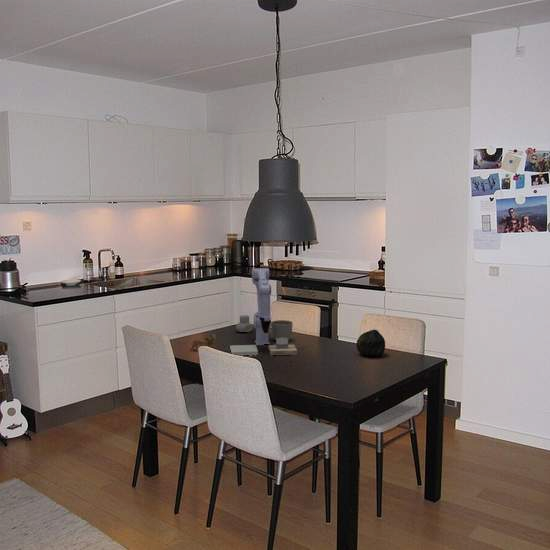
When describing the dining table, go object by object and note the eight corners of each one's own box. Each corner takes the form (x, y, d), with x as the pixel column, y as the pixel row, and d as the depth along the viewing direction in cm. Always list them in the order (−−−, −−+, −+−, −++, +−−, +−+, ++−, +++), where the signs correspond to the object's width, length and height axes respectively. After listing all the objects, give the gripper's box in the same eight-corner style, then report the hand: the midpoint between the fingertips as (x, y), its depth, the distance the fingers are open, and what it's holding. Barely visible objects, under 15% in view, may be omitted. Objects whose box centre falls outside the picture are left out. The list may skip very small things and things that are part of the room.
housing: (276, 346, 329) (276, 337, 328) (286, 346, 330) (287, 337, 329) (277, 349, 325) (277, 339, 324) (288, 348, 325) (288, 339, 325)
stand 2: (268, 349, 334) (268, 344, 333) (293, 348, 335) (293, 344, 335) (271, 356, 320) (271, 351, 320) (297, 355, 322) (297, 350, 321)
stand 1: (230, 350, 332) (230, 345, 332) (255, 349, 334) (255, 344, 334) (231, 356, 318) (231, 352, 318) (257, 356, 320) (257, 351, 320)
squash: (353, 340, 331) (358, 324, 320) (380, 341, 332) (386, 325, 321) (356, 362, 322) (361, 347, 310) (384, 363, 323) (390, 347, 311)
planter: (266, 340, 354) (266, 322, 353) (282, 337, 362) (282, 319, 361) (281, 344, 345) (281, 325, 343) (296, 340, 353) (296, 322, 352)
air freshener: (241, 334, 369) (241, 318, 368) (233, 332, 375) (233, 316, 374) (255, 331, 376) (255, 316, 375) (247, 329, 382) (247, 313, 381)
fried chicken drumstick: (216, 349, 335) (215, 333, 333) (216, 351, 329) (216, 335, 328) (189, 350, 332) (188, 334, 331) (189, 352, 327) (189, 336, 326)
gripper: (256, 305, 336) (256, 329, 337) (258, 309, 321) (259, 334, 323) (269, 304, 337) (269, 328, 338) (272, 309, 322) (272, 334, 324)
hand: (265, 331), depth 331 cm, fingers open, 7 cm apart
